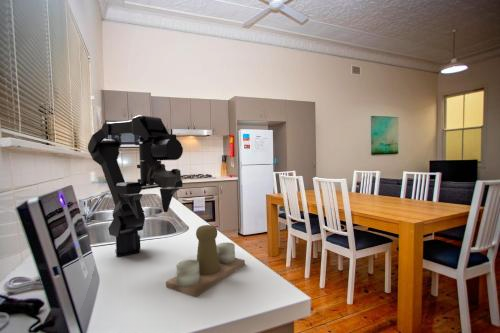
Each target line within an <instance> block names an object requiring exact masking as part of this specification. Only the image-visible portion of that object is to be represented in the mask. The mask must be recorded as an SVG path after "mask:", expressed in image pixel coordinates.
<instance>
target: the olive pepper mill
mask: <svg viewBox="0 0 500 333" xmlns="http://www.w3.org/2000/svg"><path fill="white" fill-rule="evenodd" d="M217 236H218V229H217V227H216V226H215V225H212V224H204V225H199V226H198V227H197V229H196V232H195V237H196V239H197V240H198V244H197V254H196V261H198V262H199V275H212V274H215V273H217V272H219V271H220V265H219V259H218V253H217V247H216V245H217V241H216V239H217Z"/></svg>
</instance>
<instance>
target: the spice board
mask: <svg viewBox="0 0 500 333" xmlns="http://www.w3.org/2000/svg"><path fill="white" fill-rule="evenodd" d="M235 246H236V245H235V243H233V242H226V241H225V242H220V243H216V247H217V253H218V259H219V265H220V271H219V272H217V273H215V274H212V275H199V262H198V261H197V259H196V260H195V259H185V260H182V261H179V262H177V264H176V265H175V266H176V267H175V269H176V276H175V277H173V278H170V279H169V280H167V281H165V286H166V288H168V289H171V290H174V291H176V292H180V293H183V294H185V295H188V296H191V297H193V298H196V297H199V296H200V295H201V294H202V293H204V292H206V291H207V290H209V289H210V288H212V287H213V286H214V285H216V284H218V283H219V282H221V281H222V280H224V279H226V278H227V277H228V276H230V275H231V274H232V273H234V272H236V271H237V270H239V269H240V268H242V267H243V266H245V265H246V261H245V260H246V259H242V258H238V257H236V250H235V248H236V247H235ZM244 264H245V265H244ZM241 266H242V267H241ZM238 268H239V269H238ZM235 270H236V271H235Z"/></svg>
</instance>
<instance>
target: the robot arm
mask: <svg viewBox="0 0 500 333" xmlns="http://www.w3.org/2000/svg"><path fill="white" fill-rule="evenodd" d="M122 135H134V136H137V137H139V138H138V139H137V140H135V142H134V146H138V149H139V150H138V152H139V153H138V154H139V164H137V165H136V168H137V169H139V174H140V176H139V177H140V178H138V179H137V181H125V179H124V178H125V177H124V176H123V172H122V169H121V168H120V164H119V162H118V158H119V156H120V147H121V146H122V145H123V144H122ZM108 136H115V138H114V139H109V138H108V139H106V138H107V137H108ZM87 144H88V145H87V150H88V153H89V154H90V156H91V159H92V160H93V161H94V162H95V163H97V164H98V165H99V166H100V167H101V170H102V172H103V175H104V179H105V181H106V183H107V185H108V186H107V187H108V189H109V191H110V195H111V197H112V201H113V204H114V208H113V211H112V218H113V219H112V221H111V222H110V224H109V226H108V228H107V230H108V233H109V235H110V236H113V237H114V238H115V256H116V257H117V258H118V257H123V256H127V255H133V254H139V253H140V249H141V236H140V234H139V232H140V231H143V230H144V225H145V220H146V215H145V210H144V209H143V206H142V203H141V199H142V197H143V196H144V195H143V193H141V192H142V190H150V189H157V188H158V189H159V192H160V198H161V199H160V200H161V204H162V210H163V212H164V213H168V211H169V209H170V205H171V203H172V202H171V201H172V199H173V197H174V195H175V193H176V192H177V191H179V190H180V188H182V187H183V186H184V185H183V180H182V179H181V178H182V174H181V170H180V169H178V168H173V169H171V170H167V169H166V165H165V163H162V161H177V160H179V159H180V158H181V157H182V156H183V153H184V148H183V146H182V143H181V141H180V140H178V139H177V134H173V133H172V134H171V133H169V131H168V129H167V127H166V126H165V124H164V122H163V120H162V118H161V117H157V116H149V115H142V114H139V115H137V116H135V117H132V119H131V120H127V121H115V122H109V121H106V122H104V123H103V124H102V126H101V128H100V129H98V131H95V133H93V134H92V135H91V138H90V140H89V142H88V143H87Z"/></svg>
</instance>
